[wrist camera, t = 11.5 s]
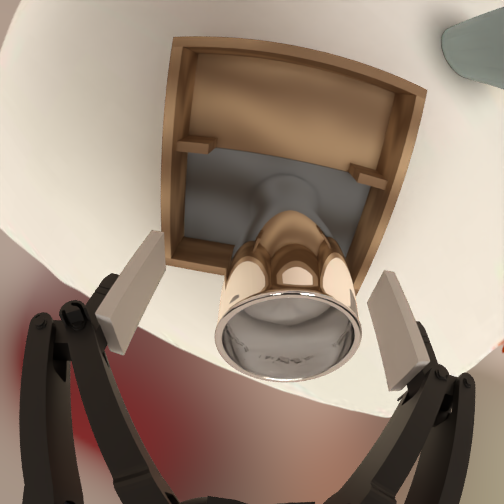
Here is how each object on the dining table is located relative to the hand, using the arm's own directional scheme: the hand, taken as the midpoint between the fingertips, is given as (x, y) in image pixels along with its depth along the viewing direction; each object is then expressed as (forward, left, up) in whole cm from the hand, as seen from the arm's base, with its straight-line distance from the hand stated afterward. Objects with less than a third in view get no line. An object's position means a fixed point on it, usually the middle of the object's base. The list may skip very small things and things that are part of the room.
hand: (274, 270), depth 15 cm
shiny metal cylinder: (0, +1, -10) cm, 10 cm away
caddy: (-4, 0, -11) cm, 11 cm away
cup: (-20, +15, -11) cm, 27 cm away
